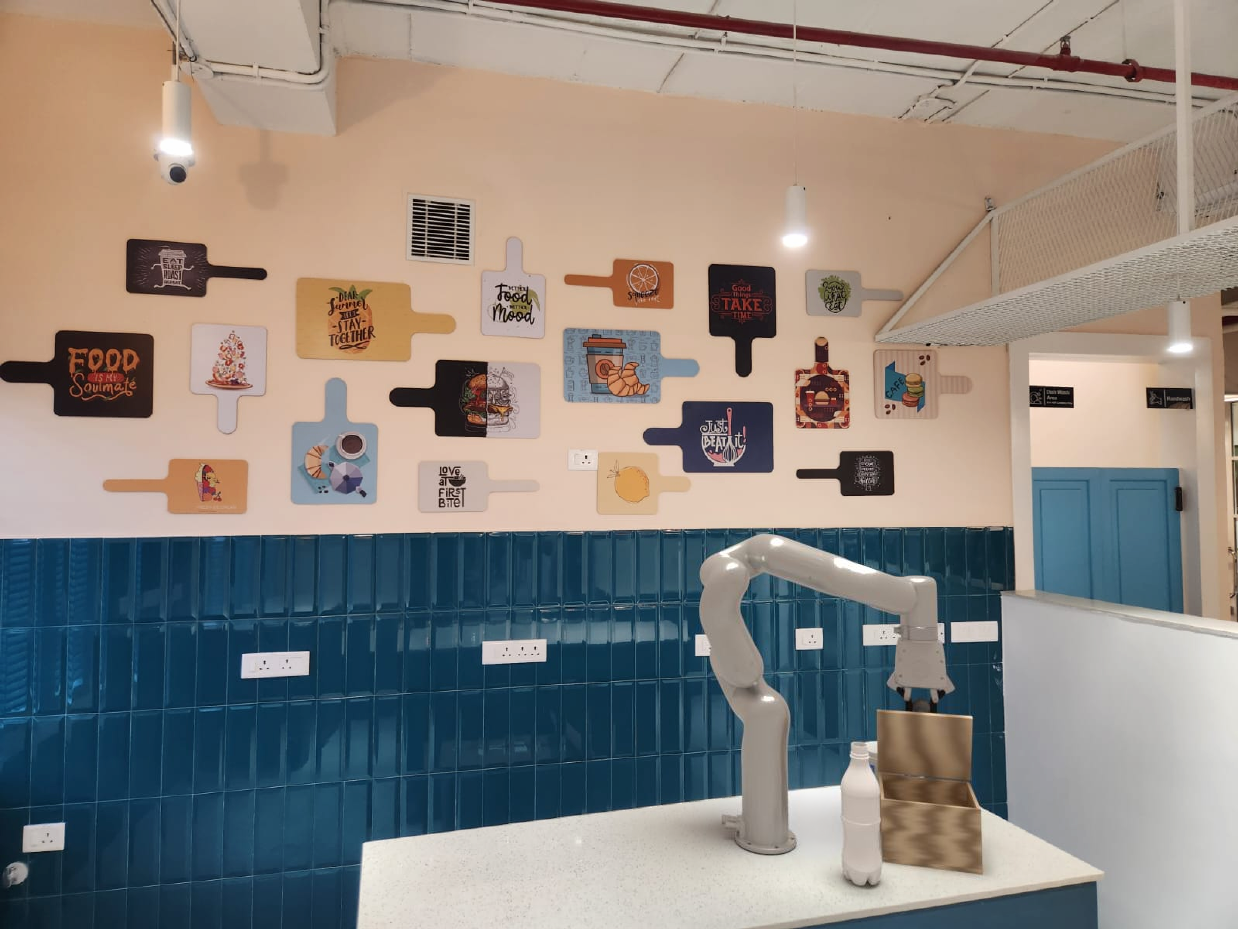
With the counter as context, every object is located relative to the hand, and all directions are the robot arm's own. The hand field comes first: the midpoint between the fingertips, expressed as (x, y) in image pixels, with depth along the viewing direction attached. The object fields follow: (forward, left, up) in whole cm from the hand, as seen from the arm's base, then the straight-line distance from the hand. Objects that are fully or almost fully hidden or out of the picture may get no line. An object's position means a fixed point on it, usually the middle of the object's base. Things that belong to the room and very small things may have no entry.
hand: (921, 718), depth 164 cm
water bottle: (-13, -25, -24) cm, 37 cm away
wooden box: (0, -9, -24) cm, 26 cm away
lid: (0, -5, -4) cm, 7 cm away
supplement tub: (-8, +8, -24) cm, 27 cm away
